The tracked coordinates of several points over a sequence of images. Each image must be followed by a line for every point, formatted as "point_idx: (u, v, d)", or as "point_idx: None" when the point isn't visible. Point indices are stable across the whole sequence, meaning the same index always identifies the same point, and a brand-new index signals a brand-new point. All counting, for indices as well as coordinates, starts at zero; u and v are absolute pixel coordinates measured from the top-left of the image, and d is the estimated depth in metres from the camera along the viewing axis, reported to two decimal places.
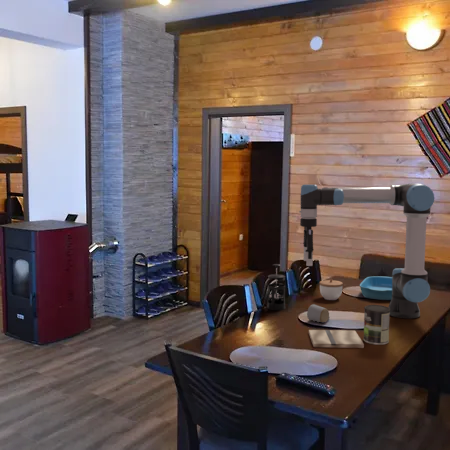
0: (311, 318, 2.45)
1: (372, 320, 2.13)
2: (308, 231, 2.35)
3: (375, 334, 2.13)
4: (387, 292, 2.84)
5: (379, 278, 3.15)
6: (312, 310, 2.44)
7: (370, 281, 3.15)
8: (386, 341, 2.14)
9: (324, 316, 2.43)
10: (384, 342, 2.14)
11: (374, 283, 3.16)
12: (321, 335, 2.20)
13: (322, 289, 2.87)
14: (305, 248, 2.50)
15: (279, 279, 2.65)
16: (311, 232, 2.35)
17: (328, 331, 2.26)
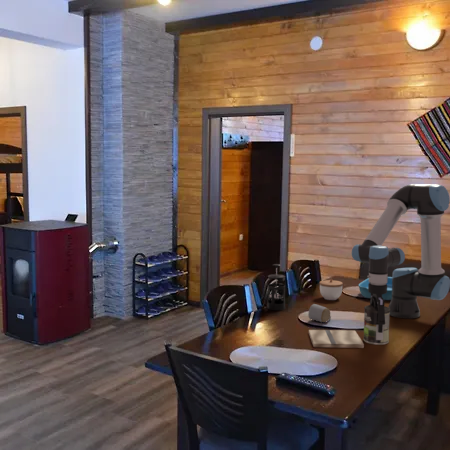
0: (313, 318, 2.45)
1: (372, 320, 2.13)
2: (379, 302, 2.10)
3: (375, 334, 2.13)
4: None
5: None
6: (313, 310, 2.45)
7: None
8: (386, 341, 2.14)
9: (326, 316, 2.43)
10: (384, 342, 2.14)
11: None
12: (321, 335, 2.20)
13: (322, 289, 2.87)
14: None
15: (279, 279, 2.65)
16: (383, 303, 2.10)
17: (328, 331, 2.26)
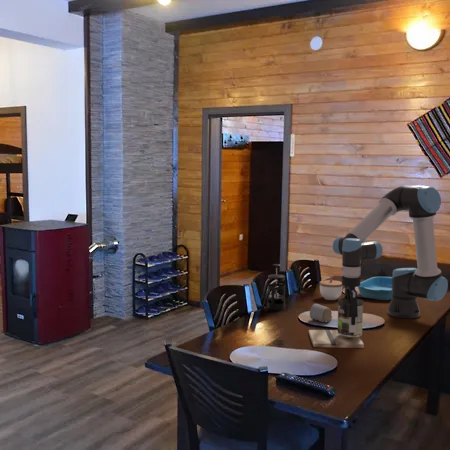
0: (314, 318, 2.46)
1: (346, 313, 2.13)
2: (352, 294, 2.10)
3: (348, 326, 2.13)
4: (381, 292, 2.84)
5: (386, 278, 3.14)
6: (315, 309, 2.45)
7: (376, 281, 3.15)
8: (359, 334, 2.15)
9: (327, 316, 2.44)
10: (357, 335, 2.14)
11: (380, 284, 3.15)
12: (321, 335, 2.20)
13: (322, 289, 2.87)
14: None
15: (279, 279, 2.65)
16: (355, 295, 2.10)
17: (328, 331, 2.26)
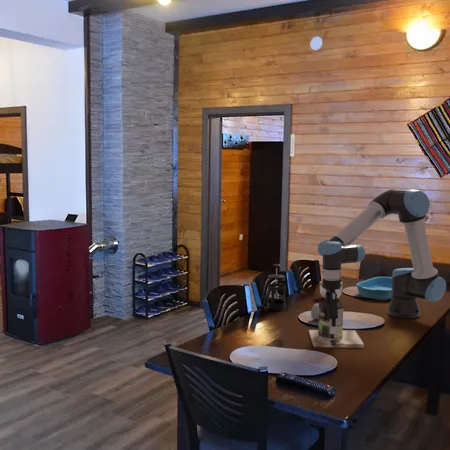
0: (315, 317, 2.47)
1: (326, 316, 2.14)
2: (332, 295, 2.10)
3: (328, 329, 2.14)
4: (378, 291, 2.85)
5: (389, 279, 3.13)
6: (316, 309, 2.46)
7: (380, 281, 3.15)
8: (340, 337, 2.15)
9: None
10: (337, 338, 2.15)
11: (384, 284, 3.14)
12: None
13: (322, 289, 2.87)
14: None
15: (279, 279, 2.65)
16: (335, 297, 2.10)
17: None
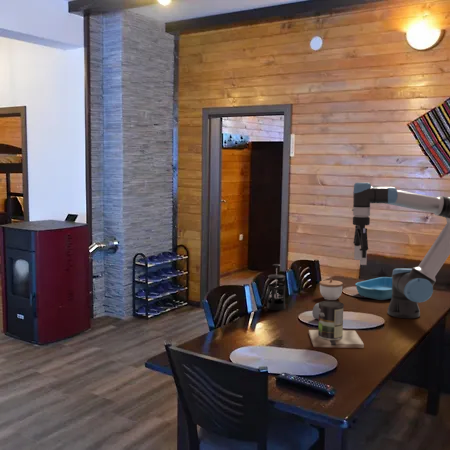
0: (316, 317, 2.47)
1: (326, 316, 2.14)
2: (362, 230, 2.33)
3: (328, 329, 2.14)
4: (375, 291, 2.86)
5: None
6: (317, 309, 2.47)
7: (383, 281, 3.14)
8: (340, 337, 2.15)
9: None
10: (337, 338, 2.15)
11: (387, 284, 3.14)
12: None
13: (322, 289, 2.87)
14: (356, 247, 2.47)
15: (279, 279, 2.65)
16: (365, 231, 2.33)
17: None
